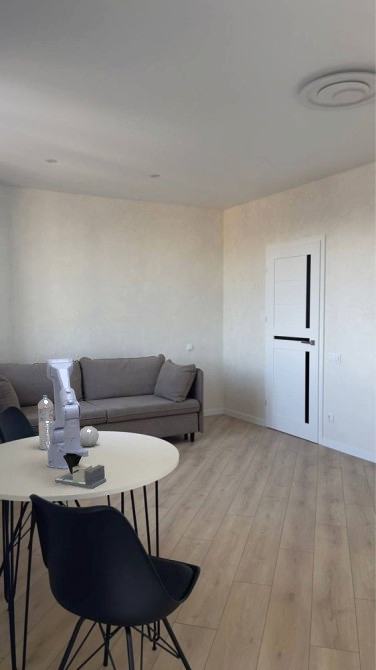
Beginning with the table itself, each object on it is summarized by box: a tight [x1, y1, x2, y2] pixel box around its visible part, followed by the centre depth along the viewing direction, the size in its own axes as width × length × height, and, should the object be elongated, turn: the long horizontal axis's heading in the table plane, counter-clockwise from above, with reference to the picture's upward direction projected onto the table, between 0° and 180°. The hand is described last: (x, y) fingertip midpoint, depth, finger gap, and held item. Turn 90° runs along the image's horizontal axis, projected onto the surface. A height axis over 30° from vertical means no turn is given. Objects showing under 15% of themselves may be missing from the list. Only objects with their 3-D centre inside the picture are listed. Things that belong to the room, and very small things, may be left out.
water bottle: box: [37, 394, 55, 451], centre depth 224 cm, size 7×7×25 cm
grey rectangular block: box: [85, 464, 106, 485], centre depth 173 cm, size 2×8×5 cm, turn 154°
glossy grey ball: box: [80, 425, 100, 448], centre depth 229 cm, size 9×10×15 cm
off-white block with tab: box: [73, 463, 93, 482], centre depth 174 cm, size 6×8×5 cm
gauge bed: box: [54, 472, 107, 490], centre depth 176 cm, size 17×8×2 cm, turn 64°
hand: (73, 473), depth 177 cm, fingers closed
